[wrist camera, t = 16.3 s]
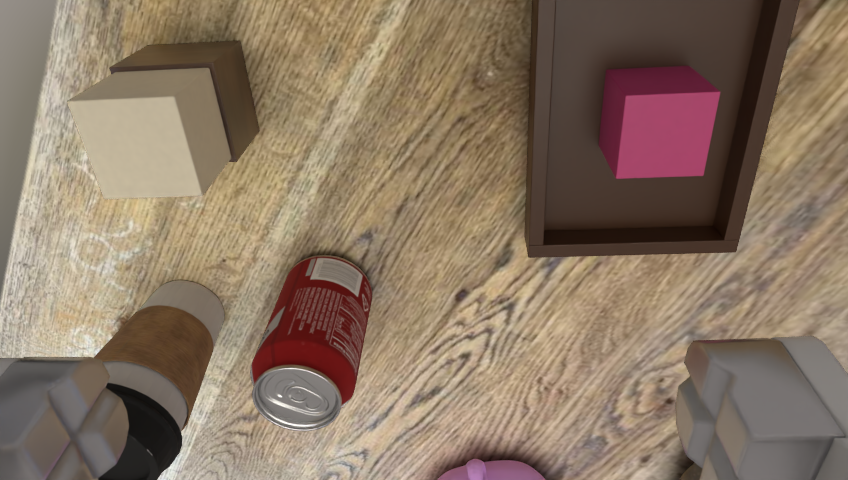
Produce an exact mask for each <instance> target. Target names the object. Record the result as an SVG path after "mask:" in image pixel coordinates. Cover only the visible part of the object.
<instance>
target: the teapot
mask: <svg viewBox="0 0 848 480" xmlns="http://www.w3.org/2000/svg"><path fill="white" fill-rule="evenodd" d="M437 480H546V479H545V478H544V477H543V476H542V475H541V474H540V473H538V472H537V471H536V470H535V469H534V468H532V467H531V466H529V465H527V464H525V463H522V462H518V461H512V460H499V461H488V462H483V461H481V460H478V459H472V460H470V461H468V462H467V464H466V465H465V466H461V467H457V468H454V469H451V470H449V471H447V472H445V473H444V474H443V475H441V476H440V477H439V478H438V479H437Z"/></svg>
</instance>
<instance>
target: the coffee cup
mask: <svg viewBox="0 0 848 480" xmlns="http://www.w3.org/2000/svg"><path fill="white" fill-rule="evenodd" d="M224 316H225V314H224V308H223V306H222V304H221V302H220V301H219V299H218V298H217V297H216V296H215V295H214V294H213V293H212V292H211V291H210V290H208V289H207V288H205V287H204V286H202V285H200V284H197V283H194V282H190V281H182V280H177V281H171V282H168V283H165V284H163V285H162V286H160V287H159V288H158V289H157V290H156V291H155V292H154V293H153V294H152V295H151V296H150V297H149V299H148V300H147V301H146V302H145V303H144V304H143V305H142V307H141V308H140V309H139V310H138V311H137V312H136V313H135V314H134V315H133V316H132V317H131V318H130V319H129V320H128V321H127V322H126V324H125V325H124V326H123V327H122V328H121V329H120V330H119V331H118V332H117V333H116V334H115V335H114V336H113V338H112V339H111V340H110V341H109V342H108V343H107V344H106V345H105V346H104V347H103V348H102V349H101V350H100V352H99V353H98V354H97V355H96V356H95V357H94V358H96V359H101V360H102V362H103V364H104V366H105V367H106V369H107V371H108V373H109V375H110V379H109V381H108V383H107V385H106V388H107V389H108V390H110V391H111V392H113V393H114V394H116V395H117V396H119V397H120V398H121V399H122V401H123V403H124V405H125V407H126V410H127V414H128V421H129V429H128V434H127V440H126V445H125V448H124V450H123V452H122V454H121V456H120V458H119V460H118V462H117V464H116V465H115V466H113V467H112V468H111V469H109V470H108V471H107V472H106V473H104V474H103V475H102V476H101V477H99V478H98V480H157V479H158V477H159V476H160V474H161V473H162V472H163V471H164V470H166V469H167V468H168V467H169V466H170V465H171V464H172V462H173V461H174V460H175V458H176V457H177V455H178V454H179V452H180V449H181V446H182V435H181V431H182V430H183V429H184V428H185V426H186V425H187V423H188V420H189V418H190V415H191V412H192V409H193V406H194V403H195V401H196V398H197V395H198V392H199V389H200V386H201V384H202V381H203V378H204V375H205V372H206V369H207V367H208V364H209V361H210V358H211V355H212V352H213V349H214V346H215V343H216V341H217V338H218V336H219V333H220V331H221V328H222V325H223V322H224Z"/></svg>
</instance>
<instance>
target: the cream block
mask: <svg viewBox="0 0 848 480" xmlns="http://www.w3.org/2000/svg"><path fill="white" fill-rule="evenodd" d="M67 104H68V106H69V109H70V111H71V114H72V117H73V119H74V122H75V124H76V127H77V130H78V132H79V135H80V138H81V140H82V143H83V145H84V148H85V151H86V153H87V156H88V158H89V161H90V164H91V166H92V169H93V172H94V174H95V177H96V179H97V182H98V185H99V187H100V190H101V193H102V195H103V198H104V199H133V198H162V197H192V196H203V195H204V193H205V192H206V191H207V189H208V188H209V187H210V186H211V184H212V183H213V182H214V180H215V179H216V178H217V176H218V175H219V174H220V172H221V171H222V170H223V169H224V167H225V166H226V165H227V163H228V162H229V161H230V159H231V154H230V150H229V146H228V142H227V138H226V134H225V130H224V126H223V121H222V117H221V113H220V109H219V105H218V101H217V97H216V93H215V89H214V85H213V81H212V77H211V73H210V69H209V68H190V69H170V70H149V71H129V72H115V73H113V74H111V75H110V76H108V77H106V78H105V79H103V80H101V81H100V82H98V83H96V84H95V85H93V86H92V87H90V88H88V89H87V90H85V91H83V92H82V93H80V94H78V95H77V96H75V97H73V98H72V99H70V100H68V101H67Z"/></svg>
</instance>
